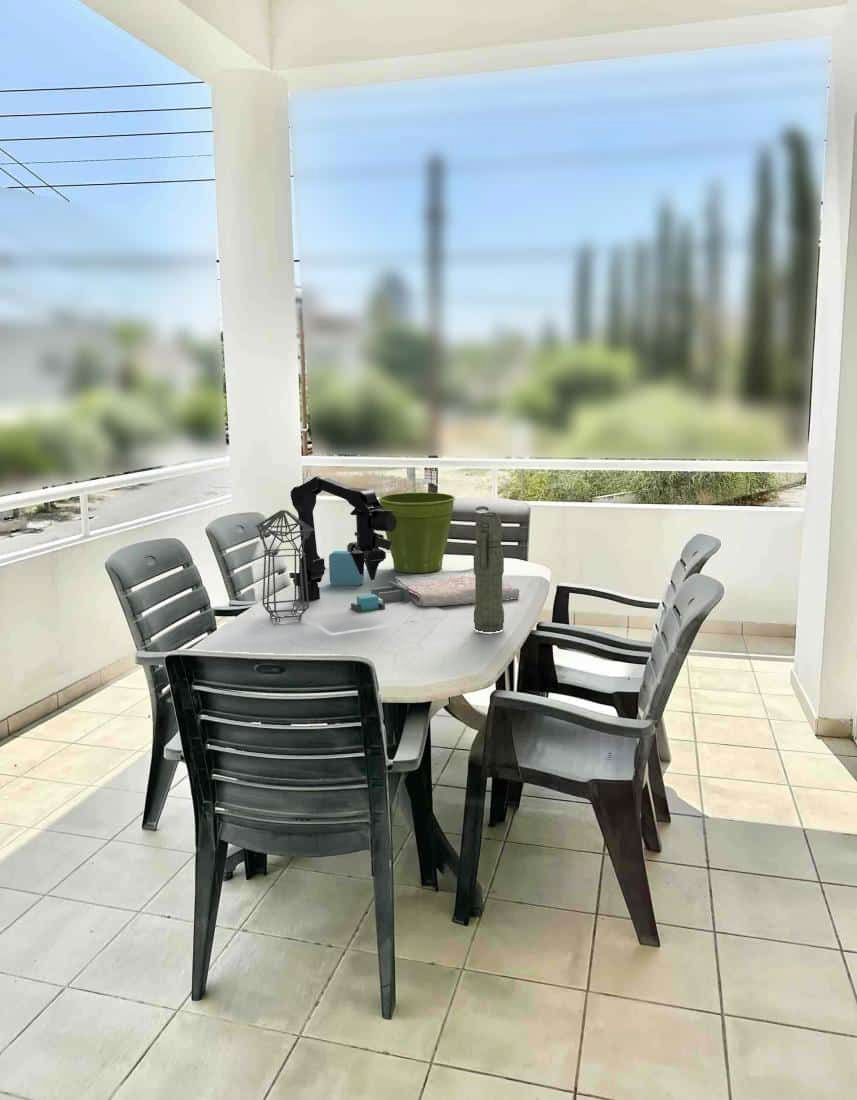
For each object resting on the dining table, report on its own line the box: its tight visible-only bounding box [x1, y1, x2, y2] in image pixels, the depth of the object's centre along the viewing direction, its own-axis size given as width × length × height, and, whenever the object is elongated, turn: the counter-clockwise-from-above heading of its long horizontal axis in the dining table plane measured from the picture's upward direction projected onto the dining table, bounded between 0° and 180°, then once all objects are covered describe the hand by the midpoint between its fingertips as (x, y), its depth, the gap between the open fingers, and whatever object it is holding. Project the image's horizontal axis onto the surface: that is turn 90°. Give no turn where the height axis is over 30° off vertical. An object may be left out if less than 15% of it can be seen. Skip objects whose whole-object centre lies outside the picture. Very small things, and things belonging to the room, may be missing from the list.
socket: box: [370, 580, 410, 603], centre depth 295 cm, size 9×14×5 cm, turn 26°
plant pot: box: [378, 492, 456, 574], centre depth 342 cm, size 30×30×29 cm
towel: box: [394, 567, 520, 607], centre depth 303 cm, size 36×34×6 cm
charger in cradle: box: [350, 602, 386, 613], centre depth 283 cm, size 9×7×2 cm
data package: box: [328, 550, 365, 586], centre depth 320 cm, size 12×4×12 cm, turn 79°
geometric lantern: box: [254, 509, 314, 623], centre depth 270 cm, size 16×16×35 cm
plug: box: [356, 593, 384, 611], centre depth 283 cm, size 8×4×4 cm, turn 116°
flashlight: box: [473, 512, 505, 632], centre depth 255 cm, size 9×12×35 cm
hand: (366, 577), depth 281 cm, fingers open, 9 cm apart
